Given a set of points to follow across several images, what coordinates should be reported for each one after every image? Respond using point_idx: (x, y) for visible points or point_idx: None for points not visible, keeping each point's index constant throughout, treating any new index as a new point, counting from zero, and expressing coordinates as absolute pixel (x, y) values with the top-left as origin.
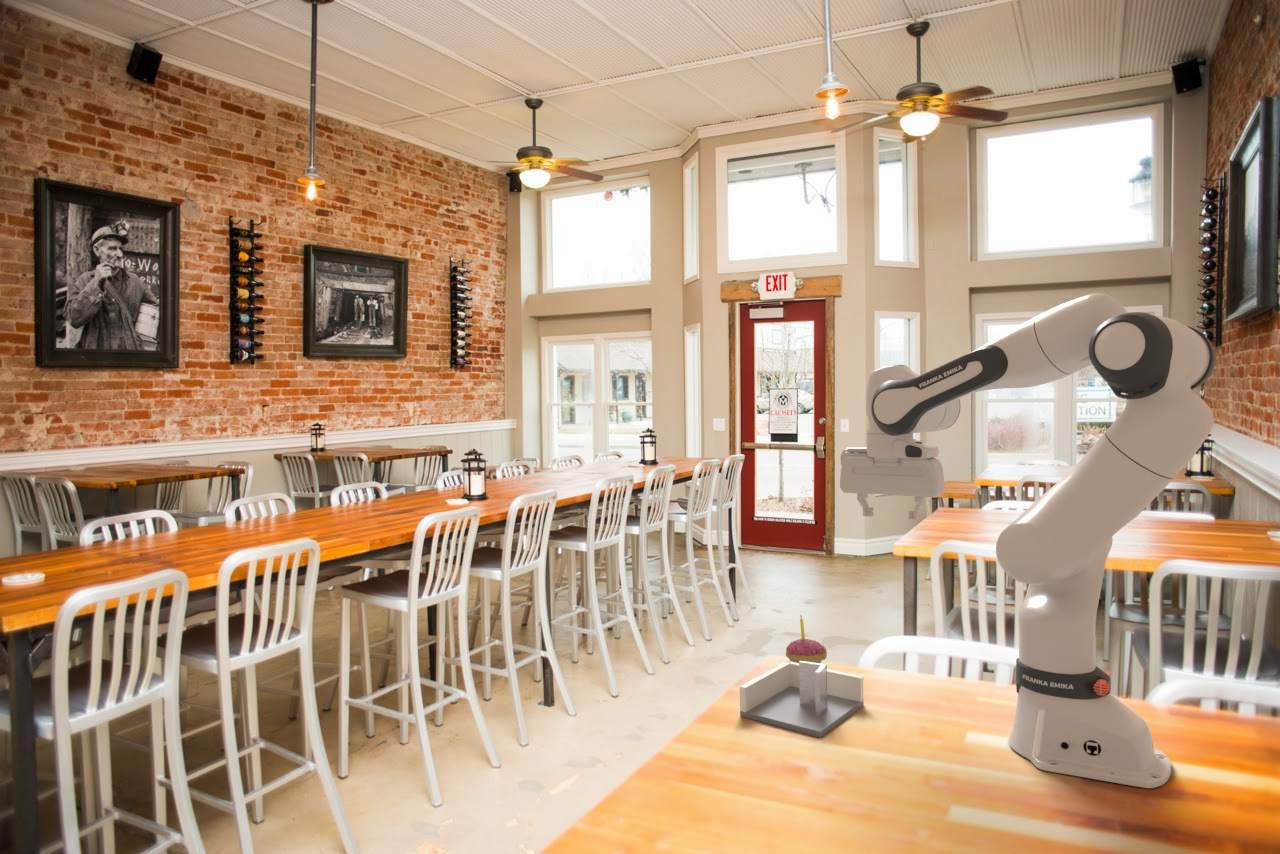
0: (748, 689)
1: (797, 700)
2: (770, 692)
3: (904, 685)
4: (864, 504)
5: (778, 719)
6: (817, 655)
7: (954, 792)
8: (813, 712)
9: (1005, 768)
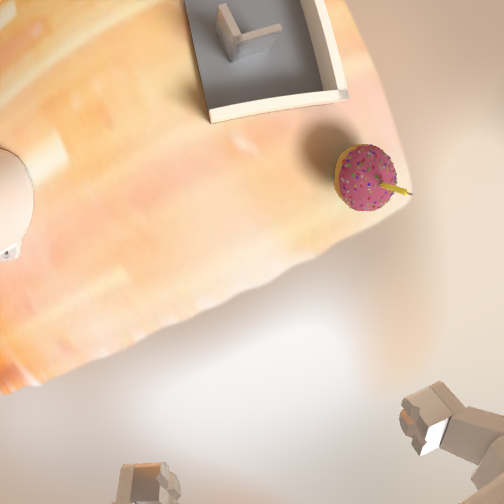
0: None
1: (278, 54)
2: (313, 38)
3: (219, 240)
4: (467, 427)
5: None
6: (339, 167)
7: (20, 30)
8: None
9: (6, 112)
